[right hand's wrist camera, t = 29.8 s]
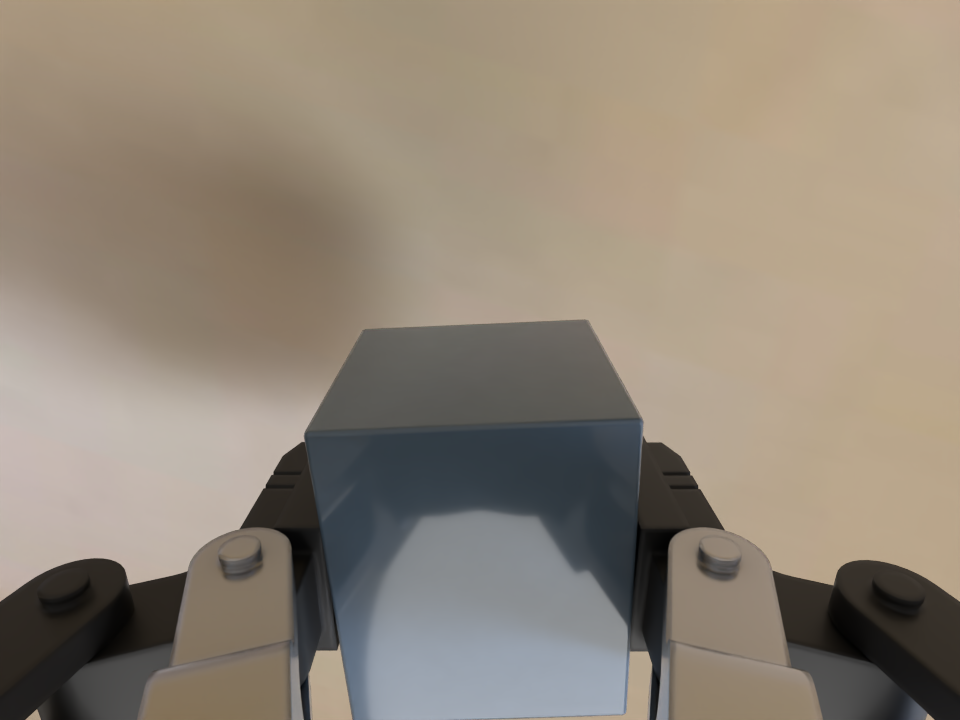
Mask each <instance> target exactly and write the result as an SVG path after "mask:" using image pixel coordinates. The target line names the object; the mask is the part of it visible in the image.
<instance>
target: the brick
mask: <svg viewBox="0 0 960 720" xmlns="http://www.w3.org/2000/svg"><path fill="white" fill-rule="evenodd" d="M643 424H644V422H643V419H642V417H641V415H640V413H639V412H638V410H637V408H636V406H635V404H634V403H633V401H632V399H631V397H630V395H629V393H628V392H627V390H626V388H625V386H624V384H623V383H622V381H621V379H620V377H619V375H618V373H617V372H616V370H615V368H614V366H613V364H612V363H611V361H610V359H609V357H608V355H607V353H606V352H605V350H604V348H603V346H602V344H601V343H600V341H599V339H598V337H597V335H596V333H595V332H594V330H593V328H592V326H591V324H590V323H589V321H588V320H565V321H542V322H519V323H496V324H473V325H450V326H427V327H404V328H381V329H365V330H363V331H362V332H361V334H360V336H359V338H358V339H357V341H356V343H355V345H354V346H353V348H352V350H351V352H350V353H349V355H348V357H347V359H346V360H345V362H344V364H343V366H342V368H341V369H340V371H339V373H338V375H337V376H336V378H335V380H334V382H333V383H332V385H331V387H330V389H329V390H328V392H327V394H326V396H325V397H324V399H323V401H322V403H321V404H320V406H319V408H318V410H317V411H316V413H315V415H314V417H313V418H312V420H311V422H310V424H309V425H308V427H307V429H306V431H305V433H304V440H305V446H306V451H307V457H308V463H309V469H310V475H311V481H312V486H313V492H314V498H315V504H316V510H317V516H318V521H319V527H320V533H321V539H322V544H323V550H324V556H325V562H326V568H327V574H328V579H329V585H330V591H331V597H332V603H333V609H334V615H335V620H336V626H337V632H338V638H339V644H340V650H341V655H342V661H343V667H344V673H345V679H346V685H347V690H348V696H349V702H350V708H351V714H352V719H353V720H489V719H520V718H551V717H582V716H612V715H624V714H625V713H626V710H627V695H628V678H629V661H630V640H631V623H632V606H633V592H634V576H635V559H636V543H637V526H638V509H639V492H640V475H641V458H642V441H643Z"/></svg>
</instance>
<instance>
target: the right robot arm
mask: <svg viewBox="0 0 960 720" xmlns="http://www.w3.org/2000/svg"><path fill="white" fill-rule="evenodd" d="M338 645H339V638H338V632H337V626H336V620H335V615H334V609H333V603H332V597H331V591H330V585H329V579H328V574H327V568H326V562H325V556H324V550H323V544H322V539H321V533H320V527H319V521H318V516H317V510H316V504H315V498H314V492H313V486H312V481H311V475H310V469H309V463H308V457H307V451H306V446H305V442H301V443H300V444H299V445H297V446H296V447H295V448H293V449H292V450H290V451H289V452H288V453H286V454H285V455H284V456H283V457H282V458H281V460H280V462H279V464H278V465H277V467H276V469H275V470H274V474H273V475H271V477H270V479H269V480H268V482H267V484H266V488H265V489H263V491H262V492H261V494H260V496H259V497H258V499H257V501H256V502H255V504H254V506H253V508H252V509H251V511H250V513H249V514H248V516H247V518H246V519H245V521H244V523H243V524H242V526H241V528H240V530H235V531H232V532H229V533H226V534H224V535H221V536H219V537H217V538H215V539H213V540H212V541H210V542H209V543H207V544H206V545H204V546H203V547H202V548H201V549H200V550H199V551H198V552H197V553H196V554H195V555H194V557H193V558H192V560H191V562H190V565H189V568H188V571H187V572H184V573H181V574H177V575H173V576H169V577H165V578H160V579H155V580H151V581H146V582H142V583H137V584H132V585H129V583H128V579H127V576H126V572H125V570H124V568H123V567H122V566H121V565H120V564H119V563H117V562H115V561H112V560H109V559H97V558H94V559H84V560H79V561H74V562H70V563H67V564H64V565H61V566H58V567H55V568H53V569H51V570H49V571H46V572H44V573H42V574H41V575H39V576H37V577H35V578H34V579H32V580H31V581H29V582H27V583H26V584H25V585H23V586H22V587H20V588H19V589H18V590H16V591H15V592H13V593H12V594H11V595H9V596H8V597H6V598H5V599H3V600H2V601H1V602H0V720H25V719H26V718H28V717H29V716H30V715H31V714H32V713H33V712H34V711H35V710H36V709H37V710H38V712H39V715H40V718H41V720H313V718H312V700H311V685H310V678H309V671H310V669H311V665H312V662H313V659H314V656H315V652H316V650H337V649H338ZM630 651H648V652H649V655H650V659H651V662H652V671H651V678H650V685H649V700H648V718H647V720H925V719H926V716H927V714H929V715H930V716H931V717H932V718H934V719H935V720H960V602H959V601H958V600H957V599H955V598H954V597H952V596H951V595H949V594H948V593H947V592H945V591H944V590H942V589H941V588H940V587H938V586H937V585H935V584H934V583H932V582H931V581H929V580H928V579H926V578H924V577H922V576H920V575H919V574H917V573H914V572H912V571H910V570H908V569H905V568H902V567H899V566H896V565H893V564H889V563H885V562H880V561H871V560H858V561H852V562H849V563H846V564H845V565H843V566H842V567H841V568H840V569H839V570H838V572H837V575H836V578H835V582H834V586H833V585H828V584H824V583H819V582H815V581H810V580H805V579H801V578H796V577H792V576H788V575H784V574H781V573H778V572H775V571H772V568H771V565H770V562H769V560H768V558H767V557H766V555H765V554H764V553H763V552H762V551H761V550H760V549H759V548H758V547H757V546H756V545H754V544H753V543H751V542H750V541H748V540H747V539H745V538H743V537H741V536H739V535H736V534H734V533H731V532H728V531H725V530H724V528H723V526H722V525H721V523H720V521H719V520H718V518H717V516H716V515H715V513H714V511H713V510H712V508H711V506H710V505H709V503H708V501H707V500H706V498H705V496H704V495H703V493H702V491H701V490H700V489H698V485H697V483H696V481H695V480H694V478H693V476H690V471H689V470H688V468H687V466H686V465H685V463H684V461H683V460H682V458H681V456H679V455H678V454H677V453H675V452H674V451H672V450H671V449H670V448H668V447H667V446H665V445H664V444H663V443H647V442H646V440H645V439H644V437H643V441H642V458H641V475H640V492H639V509H638V526H637V543H636V559H635V576H634V592H633V606H632V623H631V640H630Z"/></svg>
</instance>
